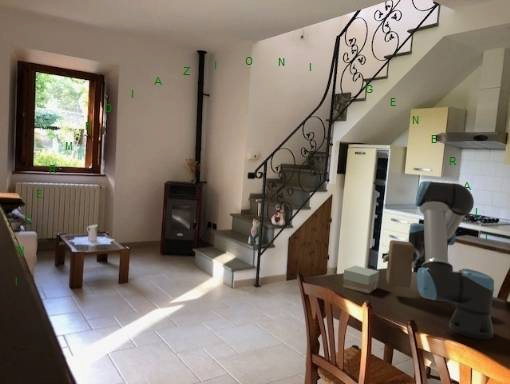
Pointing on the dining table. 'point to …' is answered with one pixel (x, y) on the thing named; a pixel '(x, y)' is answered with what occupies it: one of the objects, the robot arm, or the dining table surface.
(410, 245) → the block
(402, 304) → the dining table surface
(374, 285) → the tower base slab
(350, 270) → the tower top slab
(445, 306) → the dining table surface
